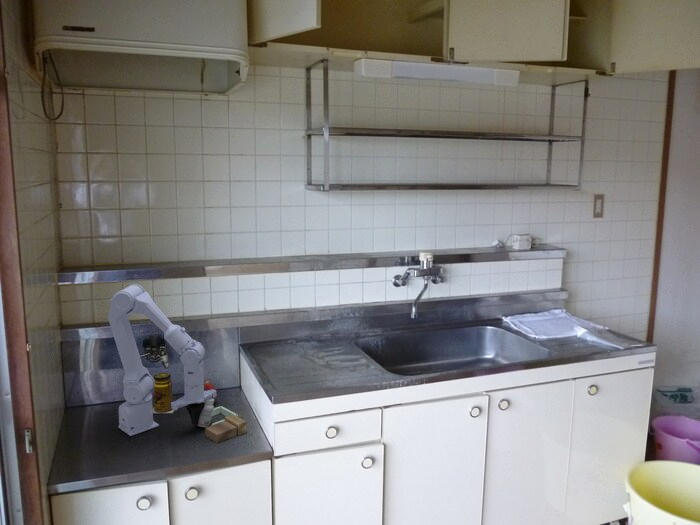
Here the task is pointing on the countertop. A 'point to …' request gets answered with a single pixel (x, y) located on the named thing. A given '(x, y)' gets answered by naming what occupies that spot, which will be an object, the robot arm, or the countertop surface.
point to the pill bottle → (206, 413)
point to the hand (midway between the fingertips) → (195, 424)
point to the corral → (222, 411)
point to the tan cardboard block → (221, 431)
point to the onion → (209, 387)
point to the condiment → (162, 393)
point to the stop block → (237, 423)
